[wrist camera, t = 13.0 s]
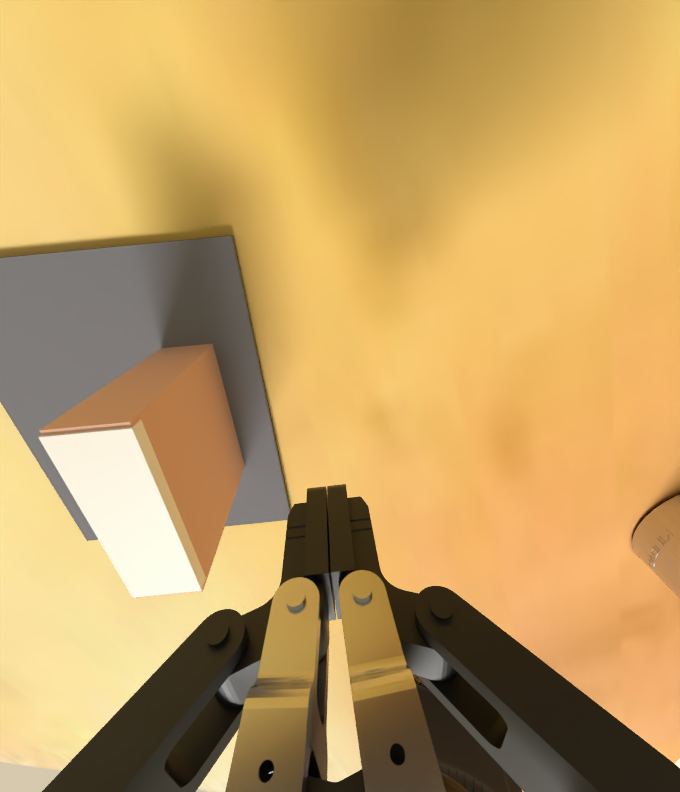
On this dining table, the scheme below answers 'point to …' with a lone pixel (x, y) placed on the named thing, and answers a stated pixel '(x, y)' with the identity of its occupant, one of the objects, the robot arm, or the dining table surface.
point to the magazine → (461, 750)
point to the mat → (133, 345)
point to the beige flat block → (154, 468)
